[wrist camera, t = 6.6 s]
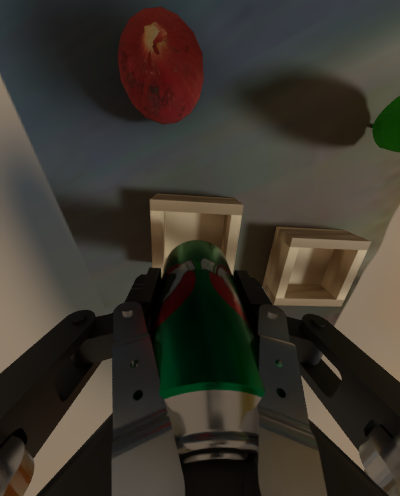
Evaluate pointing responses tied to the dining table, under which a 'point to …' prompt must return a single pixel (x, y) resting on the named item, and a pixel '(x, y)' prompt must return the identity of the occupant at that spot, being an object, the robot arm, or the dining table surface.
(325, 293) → the oak endcap
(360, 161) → the dining table surface
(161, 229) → the oak endcap
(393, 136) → the flower
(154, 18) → the onion
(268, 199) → the dining table surface
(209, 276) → the soda can
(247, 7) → the dining table surface
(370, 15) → the dining table surface
